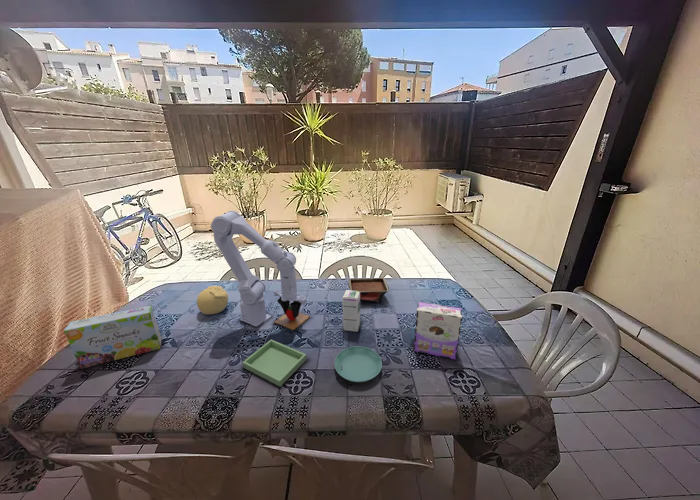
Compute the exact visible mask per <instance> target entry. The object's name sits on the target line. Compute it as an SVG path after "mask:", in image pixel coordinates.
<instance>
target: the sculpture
mask: <svg viewBox="0 0 700 500" xmlns="http://www.w3.org/2000/svg"><path fill="white" fill-rule="evenodd" d="M228 304H229V294H228V291H226V290H225V289H224V288H223V287H222V286H221V285H209V286H208V287H207V288H205V289H202V291H200V292H199V293H198V296H197V298H196V305H197V309H198V311H200V313H202V314H203V315H208V316H209V315H215V314H219V313H220V314H221V312H223V311H224V310H225V309H226V308H227V306H228Z"/></svg>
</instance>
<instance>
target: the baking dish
mask: <svg viewBox="0 0 700 500" xmlns="http://www.w3.org/2000/svg"><path fill="white" fill-rule="evenodd" d="M347 285H348V288H349V289H348V290H355V291H360V302H362V301H368V302H377V303H379V304H381V303H382V299H383V297H384V296H385V295H386V293H388V292H389V290H390V287H389V285H388V283H387V281H386V279H385V278H383V277H370V278H369V277H368V278H366V277H365V278H350V279H349V280H348V284H347Z"/></svg>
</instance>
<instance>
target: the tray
mask: <svg viewBox="0 0 700 500" xmlns="http://www.w3.org/2000/svg"><path fill="white" fill-rule="evenodd" d="M306 361H307V354H306V353H304V352H302V351H299V350H297V349H295V348H292V347H291V346H288V345H285V344H283V343H282V342H278V341H276V340H273V339H270V340H268V341H267V342H266V343H265V344H263V345H262V346H261V347H260V348H258V349H256V350H255V352H253V353H252V354H250V356H248V357H247V358H245V359H244V360H243V361H242V362H241V363H242V368H243V369H245V370H247V371H249V372H251V373H253V374H255V375H257V376H259V377H260V378H263V379H264V380H266V381H269V382H270V383H272V384H274V385H276V386H278V387H280V388H282V386H283V385H284V384H285V383H286V382H287V380H288V379H290V378H291V376H292V375H293V374H295V372H297V370H298V369H300V367H301V366H302V365H303V364H304V363H305V362H306Z"/></svg>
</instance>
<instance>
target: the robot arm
mask: <svg viewBox="0 0 700 500" xmlns="http://www.w3.org/2000/svg"><path fill="white" fill-rule="evenodd" d="M210 229H211V230H212V233H213V240H214V243H215V245H216V246H217V248H218V250H219V251H220V253H221V255H222V256H223V258H224V260H225V261H226V263H227V265H228V266H229V268H230V270H231V271H232V273H233V275H234V276H235V278H236V280H237V282H238V292H239V295H240V300H241V301H240V303H239V305H240V306H239V307H240V314H241V318H240V321H241V322H244V323H247V324H249V325H250V326H254V327H256V328H257V327H258V326H260V325H261V324H263V323H264V322H266V321H267V320H268V319H270V318H271V317H272V315H271V314H269V313H267V310H266V309H267V308H266V302H265V296H264V293H265V291H266V284H265V283H264V282H263V281H262V280H261V279H260V277H258V276H257V275H255V274H253V273H252V272H251V270H250V267H249V266H248V264H247V263H246V261H245V259H244V258H243V256H242V254H241V252H240V250H239V249H238V247H237V246H236V244H235V243H234V240H233V237H234V236H235V235H241V236H243V237H244V238H246V239H247V240H248V241H250V242H252V243H253V244H254V245H256V246H258V247H259V248H260V253H261V254H263V255H264V256H265V257H267V258H268V259H269V260H270V261H272V263H274V264H275V266H276V267H275V268H276V269H277V270H278V272H279V277H280V278H279V279H280V288H281V289H276V290H274V291H273V294H274V295H273V296H274V297H279V298H278V299H277V303H278V304H279V306H280V307H281V309H282V311H283V313H284V314H285V315H286V311H287V310H288V309H289V307H290V306H291V308H292V311H293V317H294V318H296V317H297V316H298V315H299V313H300V310H301V306H304V305H306V304H307V303H308V302H307V297H304V296H303V295H301V294H300V293H298V287H297V274H296V273H297V272H296V266H295V265H296V263H297V257H296V255H295V254H294V253H293V252H290V251H287V250H284V249H283V248H282V247H281V246H279V244H278V242H277V241H273V240H268V239H266V238H265V237H264V236H262V235H261V234H260V233H259V232H258V231H257V230H256V229H255V228H254V227H253V226H252V225H250V224H249V223H248V221H247V220H246V219H245V217H244V216H243V215H240V214H239V212H237V211H236V210H229V211H227V212H226V213H223V214H221V215H218V216H215V217H214V218H213V219H212V222H211V224H210Z"/></svg>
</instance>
